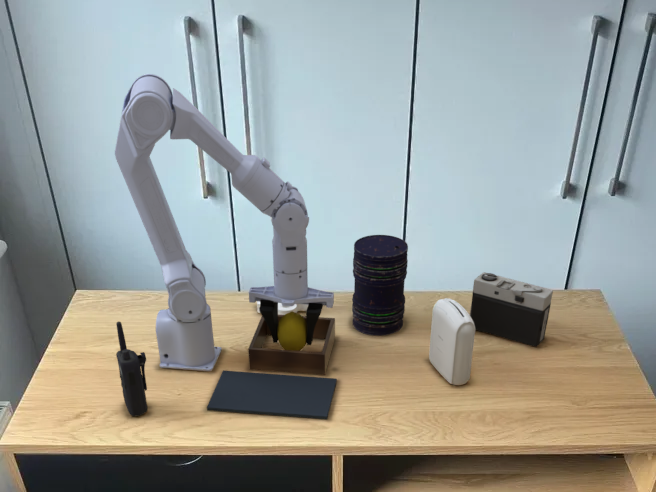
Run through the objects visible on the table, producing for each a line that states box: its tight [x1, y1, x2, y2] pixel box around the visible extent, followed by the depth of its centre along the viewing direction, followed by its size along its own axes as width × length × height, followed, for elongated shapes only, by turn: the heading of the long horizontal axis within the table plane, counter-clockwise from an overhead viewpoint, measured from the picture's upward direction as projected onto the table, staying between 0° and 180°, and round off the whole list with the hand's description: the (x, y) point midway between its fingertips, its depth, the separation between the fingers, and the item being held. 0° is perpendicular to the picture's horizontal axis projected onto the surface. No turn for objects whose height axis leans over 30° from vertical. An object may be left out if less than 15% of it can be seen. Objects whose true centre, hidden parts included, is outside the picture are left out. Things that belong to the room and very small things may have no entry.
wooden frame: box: [247, 315, 336, 376], centre depth 153 cm, size 13×13×4 cm
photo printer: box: [428, 297, 476, 386], centre depth 146 cm, size 10×4×12 cm, turn 20°
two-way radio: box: [115, 321, 148, 417], centre depth 136 cm, size 6×4×15 cm
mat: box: [206, 370, 338, 420], centre depth 144 cm, size 20×12×1 cm, turn 83°
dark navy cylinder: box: [351, 234, 409, 337], centre depth 158 cm, size 10×10×15 cm
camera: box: [469, 271, 554, 348], centre depth 158 cm, size 14×8×10 cm, turn 58°
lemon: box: [277, 311, 307, 351], centre depth 152 cm, size 6×6×8 cm
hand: (292, 341), depth 153 cm, fingers closed on lemon, 5 cm apart
